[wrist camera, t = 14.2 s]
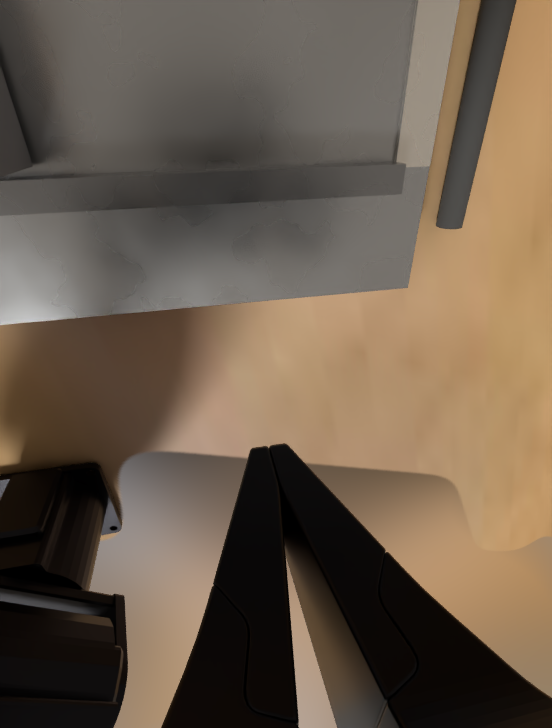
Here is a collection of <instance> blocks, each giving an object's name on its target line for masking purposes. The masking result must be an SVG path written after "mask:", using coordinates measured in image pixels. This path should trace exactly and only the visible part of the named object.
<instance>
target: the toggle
mask: <svg viewBox="0 0 552 728" xmlns="http://www.w3.org/2000/svg"><path fill="white" fill-rule="evenodd" d="M30 167H33V165H32V162H31V158H30V155H29V152H28V149H27V146H26V143H25V140H24V137H23V134H22V131H21V128H20V124H19V121H18V118H17V115H16V112H15V109H14V106H13V103H12V100H11V97H10V94H9V90H8V87H7V84H6V81H5V78H4V75H3V72H2V69H1V66H0V177H3V176H6V175H9V174H12V173H15V172H18V171H21V170H24V169H27V168H30Z"/></svg>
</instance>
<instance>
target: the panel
mask: <svg viewBox="0 0 552 728" xmlns="http://www.w3.org/2000/svg"><path fill="white" fill-rule="evenodd" d="M459 3H460V0H0V66H1V69H2V72H3V75H4V78H5V81H6V84H7V87H8V90H9V94H10V97H11V100H12V103H13V106H14V109H15V112H16V115H17V118H18V121H19V124H20V128H21V131H22V134H23V137H24V140H25V143H26V146H27V149H28V152H29V155H30V158H31V162H32V165H33V167H30V168H27V169H24V170H21V171H18V172H15V173H12V174H9V175H6V176H3V177H0V325H6V324H17V323H28V322H39V321H49V320H60V319H71V318H82V317H93V316H104V315H115V314H126V313H137V312H148V311H159V310H170V309H181V308H192V307H203V306H214V305H225V304H236V303H247V302H257V301H268V300H279V299H290V298H301V297H312V296H323V295H334V294H345V293H356V292H367V291H378V290H389V289H400V288H408V283H409V278H410V272H411V267H412V261H413V255H414V250H415V244H416V239H417V233H418V228H419V222H420V217H421V211H422V205H423V200H424V194H425V189H426V183H427V178H428V172H429V167H430V163H431V158H432V152H433V147H434V141H435V135H436V130H437V124H438V119H439V113H440V108H441V102H442V97H443V91H444V86H445V80H446V75H447V69H448V63H449V58H450V52H451V47H452V41H453V36H454V30H455V25H456V19H457V14H458V8H459Z"/></svg>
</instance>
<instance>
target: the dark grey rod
mask: <svg viewBox="0 0 552 728" xmlns="http://www.w3.org/2000/svg"><path fill="white" fill-rule="evenodd" d="M515 4H516V0H482V1H481V6H480V11H479V16H478V20H477V25H476V30H475V35H474V40H473V45H472V50H471V55H470V60H469V65H468V70H467V75H466V80H465V84H464V89H463V94H462V99H461V104H460V109H459V114H458V119H457V124H456V129H455V134H454V139H453V143H452V148H451V153H450V158H449V163H448V168H447V173H446V178H445V183H444V188H443V193H442V198H441V202H440V207H439V212H438V217H437V222H436V226H437V227H439V228H444V229H460V228H462V225H463V221H464V217H465V213H466V208H467V204H468V200H469V196H470V192H471V187H472V183H473V179H474V175H475V171H476V167H477V162H478V158H479V154H480V150H481V146H482V142H483V137H484V133H485V129H486V125H487V121H488V117H489V112H490V108H491V104H492V100H493V96H494V92H495V87H496V83H497V79H498V75H499V71H500V67H501V62H502V58H503V54H504V50H505V46H506V41H507V37H508V33H509V29H510V25H511V21H512V16H513V12H514V8H515Z"/></svg>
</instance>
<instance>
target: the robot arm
mask: <svg viewBox="0 0 552 728" xmlns="http://www.w3.org/2000/svg"><path fill="white" fill-rule="evenodd" d="M90 470H92V471H90ZM121 528H122V520H121V518H120V515H119V513H118V510H117V507H116V505H115V502H114V499H113V497H112V494H111V492H110V489H109V486H108V484H107V481H106V479H105V476H104V473H103V471H102V468H101V466H100V465H99V464H97V463H84V464H77V465H70V466H63V467H56V468H49V469H42V470H35V471H28V472H21V473H14V474H7V475H0V728H113V727H114V725H115V723H116V720H117V717H118V715H119V712H120V708H121V705H122V701H123V698H124V693H125V688H126V681H127V672H128V660H127V640H126V622H125V621H126V620H125V600H124V596H123V595H118V594H114V595H108V594H103V593H97V592H92V591H89V588H90V584H91V579H92V575H93V570H94V565H95V560H96V556H97V551H98V546H99V542H100V537H101V535H105V534H110V533H116V532H119V531H120V530H121ZM286 558H287V561H288V564H289V568H290V572H291V575H292V578H293V582H294V585H295V588H296V592H297V595H298V598H299V601H300V605H301V608H302V611H303V614H304V618H305V622H306V625H307V628H308V632H309V634H310V638H311V642H312V645H313V648H314V652H315V655H316V658H317V661H318V665H319V668H320V671H321V675H322V678H323V681H324V685H325V688H326V691H327V695H328V698H329V701H330V705H331V708H332V711H333V714H334V718H335V721H336V725H337V728H552V698H551V697H550V696H548V695H547V694H545V693H544V692H542V691H541V690H539V689H538V688H537V687H535V686H534V685H533V684H531V683H530V682H529V681H527V680H526V679H525V678H523V677H522V676H521V675H520V674H519V673H518V672H516V671H515V670H514V669H513V668H512V667H511V666H510V665H508V664H507V663H506V662H505V661H504V660H503V659H502V658H500V657H499V656H498V655H497V654H496V653H495V652H494V651H493V650H491V649H490V648H489V647H488V646H487V645H486V644H484V643H483V642H482V641H481V640H480V639H479V638H478V637H477V636H476V635H474V634H473V633H472V632H471V631H470V630H469V629H468V628H466V627H465V626H464V625H463V624H462V623H461V622H459V620H457V619H456V618H455V617H454V616H453V615H452V614H451V613H449V612H448V611H447V610H446V609H445V608H444V607H443V606H442V605H441V604H440V603H438V602H437V601H436V600H435V599H434V598H433V597H432V596H431V595H430V594H429V593H428V592H427V591H425V590H424V589H423V588H422V587H421V586H420V585H419V584H418V583H417V582H416V581H415V580H414V579H413V578H412V577H411V576H410V575H409V574H408V573H407V572H406V571H405V570H404V568H403V567H402V566H400V564H399V563H398V562H397V561H396V560H395V559H394V558H393V557H392V556H391V555H390V554H389V553H388V552H386V553H385V548H384V547H383V546H382V545H381V544H380V543H379V542H378V541H377V540H376V539H375V538H374V537H373V536H372V534H371V533H370V532H369V531H368V530H367V529H366V528H365V527H364V526H363V525H362V524H361V523H360V522H359V521H358V520H357V519H356V518H355V516H354V515H353V514H352V513H351V512H350V511H349V510H348V509H347V508H346V507H345V506H344V505H343V503H341V501H340V500H339V499H338V498H337V497H336V496H335V495H334V494H333V493H332V492H331V491H330V490H329V489H328V487H327V486H326V485H325V484H324V483H323V482H322V481H321V480H320V479H319V478H318V477H317V476H316V475H315V474H314V472H313V471H312V470H311V469H310V468H309V467H308V466H307V465H306V464H305V463H304V462H303V461H302V460H301V459H300V458H299V456H298V455H297V454H296V453H295V452H294V451H293V450H292V449H291V448H290V447H289V446H288V445H287V444H285V443H283V444H276V445H271V446H270V447H269V448H268V447H267V446H263V447H256V448H252V449H251V450H250V453H249V457H248V460H247V464H246V468H245V471H244V475H243V478H242V482H241V486H240V489H239V493H238V497H237V500H236V503H235V507H234V511H233V514H232V518H231V521H230V525H229V529H228V532H227V536H226V539H225V543H224V546H223V550H222V554H221V557H220V561H219V564H218V568H217V571H216V575H215V579H214V583H213V584H214V586H213V587H212V589H211V592H210V596H209V599H208V603H207V606H206V610H205V613H204V616H203V619H202V623H201V626H200V629H199V632H198V635H197V638H196V641H195V644H194V646H193V649H192V652H191V654H190V657H189V660H188V662H187V665H186V668H185V671H184V673H183V675H182V678H181V680H180V683H179V685H178V688H177V690H176V693H175V695H174V698H173V700H172V703H171V705H170V708H169V710H168V712H167V715H166V717H165V720H164V722H163V725H162V727H161V728H299V727H298V709H297V695H296V683H295V669H294V658H293V644H292V631H291V620H290V606H289V594H288V581H287V568H286Z"/></svg>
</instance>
